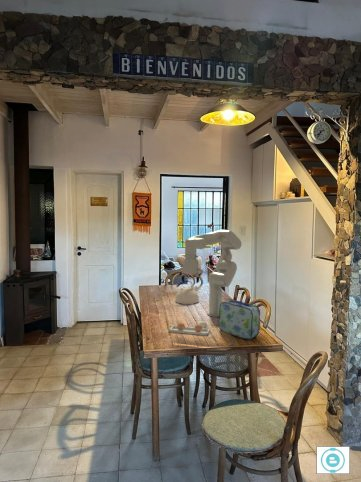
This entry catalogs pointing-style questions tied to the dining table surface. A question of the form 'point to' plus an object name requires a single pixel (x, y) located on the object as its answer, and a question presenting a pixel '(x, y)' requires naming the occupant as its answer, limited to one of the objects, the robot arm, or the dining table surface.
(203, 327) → the ball cream
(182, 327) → the terracotta ball
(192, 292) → the kettle
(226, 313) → the lunch box
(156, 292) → the dining table surface
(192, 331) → the grey channel
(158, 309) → the dining table surface
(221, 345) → the dining table surface
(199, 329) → the terracotta ball
